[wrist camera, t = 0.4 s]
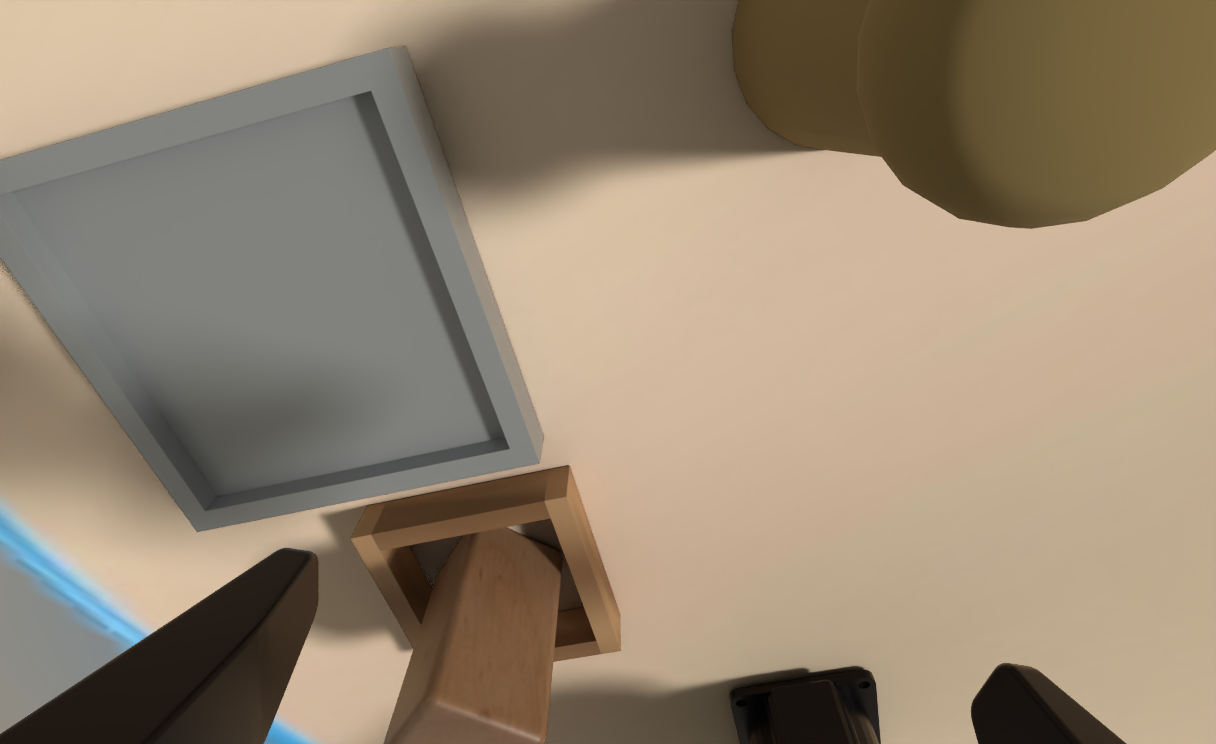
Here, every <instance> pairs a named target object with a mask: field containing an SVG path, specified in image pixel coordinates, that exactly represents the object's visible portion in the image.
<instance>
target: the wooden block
mask: <svg viewBox="0 0 1216 744" xmlns="http://www.w3.org/2000/svg"><path fill="white" fill-rule="evenodd" d="M562 561H563V558H562V555H561V554H560V553H559V552H558V551H557V550H555V549H553V548H550V547H548V546H546V545H544V544H541V543H539V542H537V541H535V540H532V539H530V538H528V537H526V536H524V535H521V534H519V533H517V532H515V531H512V530H510V529H508V528H506V527H503V528H498V529H493V530H487V531H482V532H477V533H472V534H466V535H463V537H462V538H461V540H460V541H459V543H458V544H457V546H456V547H455V549H454V550H453V552H452V553H451V555H450V556H449V558H448V559H447V561H446V562H445V564H444V566H443V567H442V569H441V570H440V572H439V573H438V575H437V577H436V580H435V583H434V586H433V589H432V592H431V596H430V599H429V602H428V605H427V608H426V611H425V615H424V618H423V621H422V624H421V627H420V630H419V634H418V637H417V640H416V643H415V646H414V649H413V652H412V656H411V659H410V662H409V665H408V668H407V671H406V675H405V678H404V681H403V684H402V687H401V690H400V694H399V697H398V700H397V703H396V706H395V709H394V713H393V716H392V719H391V722H390V725H389V728H388V731H387V735H386V738H385V741H384V744H543V743H544V742H545V740H546V734H547V724H548V713H549V702H550V691H551V681H552V670H553V659H554V648H555V637H556V626H557V615H558V604H559V593H560V582H561V571H562Z"/></svg>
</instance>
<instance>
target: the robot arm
mask: <svg viewBox="0 0 1216 744" xmlns="http://www.w3.org/2000/svg"><path fill="white" fill-rule="evenodd" d="M317 606H318V558H317V555H316V554H315V553H313V552H310V551H304V550H297V549H291V548H283V549H280V550H277V551H276V552H274V553H273V554H271V555H270V556H268V557H267V558H265V559H264V560H262V561H261V562H259V563H258V564H256V565H255V566H253V567H252V568H250V569H249V570H247V571H246V572H244V573H243V574H241V575H239V576H238V577H236V578H235V579H233V580H232V581H230V582H229V583H227V584H226V585H224V586H223V587H221V588H220V589H218V590H217V591H215V592H214V593H212V594H211V595H209V596H208V597H206V598H205V599H203V600H202V601H200V602H199V603H197V604H196V605H194V606H193V607H191V608H190V609H188V610H187V611H185V612H184V613H182V614H181V615H179V616H178V617H176V618H175V619H173V620H172V621H170V622H169V623H167V624H166V625H164V626H163V627H161V628H160V629H158V630H157V631H155V632H154V633H152V634H150V635H149V636H147V637H146V638H144V639H143V640H141V641H140V642H138V643H137V644H135V645H134V646H132V647H131V648H129V649H128V650H126V651H125V652H123V653H122V654H120V655H119V656H117V657H116V658H114V659H113V660H111V661H110V662H108V663H107V664H105V665H104V666H102V667H101V668H99V669H98V670H96V671H95V672H93V673H92V674H90V675H89V676H87V677H86V678H84V679H83V680H81V681H80V682H78V683H77V684H75V685H74V686H72V687H71V688H69V689H68V690H66V691H65V692H63V693H61V694H60V695H58V696H57V697H55V698H54V699H52V700H51V701H49V702H48V703H46V704H45V705H43V706H42V707H40V708H39V709H37V710H36V711H34V712H33V713H31V714H30V715H28V716H27V717H25V718H24V719H22V720H21V721H19V722H18V723H16V724H15V725H13V726H12V727H10V728H9V729H7V730H6V731H4V732H3V733H1V734H0V744H264V742H265V739H266V737H267V735H268V732H269V730H270V728H271V725H272V723H273V720H274V718H275V715H276V713H277V710H278V708H279V705H280V703H281V700H282V698H283V695H284V693H285V690H286V688H287V685H288V683H289V680H290V678H291V675H292V673H293V670H294V668H295V665H296V663H297V660H298V658H299V655H300V653H301V650H302V648H303V645H304V643H305V640H306V638H307V635H308V633H309V630H310V628H311V625H312V623H313V620H314V617H315V614H316V610H317ZM729 698H730V704H731V708H732V712H733V716H734V720H735V724H736V728H737V732H738V736H739V740H740V744H881V741H880V729H879V716H878V704H877V692H876V683H875V680H874V678H873V675H872V673H871V672H870V671H868V670H857V671H850V672H844V673H837V674H831V675H824V676H817V677H811V678H804V679H798V680H791V681H784V682H778V683H771V684H765V685H758V686H751V687H745V688H738V689H735V690H733V691H731V693H730V694H729ZM971 718H972V722H973V726H974V730H975V733H976V737H977V741H978V744H1126V743H1125V742H1124V741H1123V740H1121V739H1120V738H1119V737H1118V736H1117V735H1115V734H1114V733H1113V732H1112V731H1111V730H1109V729H1108V728H1107V727H1106V726H1105V725H1103V724H1102V723H1101V722H1100V721H1099V720H1097V719H1096V718H1095V717H1094V716H1093V715H1091V714H1090V713H1089V712H1088V711H1087V710H1085V709H1084V708H1083V707H1082V706H1081V705H1079V704H1078V703H1077V702H1076V701H1075V700H1073V699H1072V698H1071V697H1070V696H1069V695H1067V694H1066V693H1065V692H1064V691H1063V690H1061V689H1060V688H1059V687H1058V686H1057V685H1055V684H1054V683H1053V682H1052V681H1051V680H1049V679H1048V678H1047V677H1046V676H1045V675H1043V674H1042V673H1041V672H1040V671H1038V670H1037V669H1035V668H1032V667H1029V666H1023V665H1017V664H1011V663H1002V664H1000V665H998V666H997V667H996V668H995V669H994V671H993V672H992V674H991V675H990V676H989V678H988V679H987V681H986V682H985V684H984V685H983V686H982V688H981V689H980V691H979V692H978V693H977V695H976V696H975V698H974V700H973V702H972V706H971Z"/></svg>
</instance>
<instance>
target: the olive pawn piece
mask: <svg viewBox="0 0 1216 744" xmlns="http://www.w3.org/2000/svg"><path fill="white" fill-rule="evenodd" d="M732 41H733V59H734V71H735V73H736V76H737V79H738V81H739V84H740V87H741V90H742V92H743V95H744V98H745V100H746V103H747V104H748V105H749V107H750V108H751V109H752V110H753V111H754V113H755V114H756V115H757V116H758V118H759V119H760V120H761V121H762V122H763V124H764V125H765V126H766V127H767V128H768V129H769V130H771V131H773V132H774V133H776V134H778V135H780V136H781V137H783V138H785V139H786V140H788V141H790V142H792V143H793V144H795V145H801V146H806V147H812V148H818V149H823V150H830V151H838V152H846V153H855V154H863V155H871V156H880V157H882V158H883V159H884V161H885V162H886V163H887V165H888V166H889V167H890V169H891V170H892V171H893V173H894V174H895V175H896V176H897V178H898V179H899V180H900V182H901V183H902V184H903V185H904V186H905V187H907V188H909V189H910V190H912V191H914V192H915V193H917V194H919V195H920V196H922V197H924V198H925V199H927V200H929V201H930V202H932V203H934V204H935V205H937V206H939V207H940V208H942V209H944V210H946V211H947V212H949V213H951V214H952V215H954V216H956V217H957V218H959V219H964V220H970V221H976V222H982V223H988V224H993V225H999V226H1005V227H1015V228H1030V229H1032V228H1039V227H1046V226H1053V225H1060V224H1067V223H1075V222H1082V221H1087V220H1089V219H1092V218H1094V217H1097V216H1099V215H1101V214H1104V213H1106V212H1108V211H1111V210H1113V209H1116V208H1118V207H1120V206H1123V205H1125V204H1128V203H1130V202H1132V201H1135V200H1137V199H1139V198H1142V197H1144V196H1146V195H1149V194H1151V193H1153V192H1155V191H1158V190H1160V189H1162V188H1164V187H1165V186H1166V185H1168V184H1169V183H1171V182H1172V181H1173V180H1175V179H1176V178H1178V177H1179V176H1180V175H1182V174H1183V173H1185V172H1186V171H1187V170H1189V169H1190V168H1192V167H1193V166H1194V165H1196V164H1197V163H1199V162H1200V161H1202V160H1203V159H1204V158H1206V157H1207V156H1209V155H1210V154H1211V153H1213V152H1214V151H1215V150H1216V0H739V2H738V6H737V11H736V15H735V20H734V24H733V28H732Z"/></svg>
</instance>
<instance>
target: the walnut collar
mask: <svg viewBox="0 0 1216 744" xmlns="http://www.w3.org/2000/svg"><path fill="white" fill-rule="evenodd" d="M545 519H551V520H552V523H553V526H554V528H555V531H556V534H557V536H558V539H559V542H560V544H561V547H562V550H563V553H564V555H565V558H566V561H567V563H568V566H569V569H570V571H571V574H572V577H573V579H574V582H575V585H576V587H577V590H578V593H579V595H580V598H581V601H582V603H583V606H584V608H578V609H572V610H566V611H561V612H558V615H557V626H556V637H555V648H554V659H553V662H555V661H561V660H567V659H573V658H580V657H586V656H592V655H598V654H604V653H610V652H617V651H621V634H620V613H619V610H618V607H617V604H616V601H615V598H614V595H613V592H612V589H611V586H610V583H609V580H608V577H607V575H606V572H605V569H604V566H603V563H602V560H601V557H600V554H599V551H598V548H597V545H596V542H595V539H594V536H593V533H592V530H591V527H590V524H589V522H588V519H587V516H586V513H585V510H584V507H583V504H582V501H581V498H580V495H579V492H578V489H577V486H576V483H575V480H574V477H573V474H572V472H571V469H570V466H565V467H560V468H555V469H550V470H545V471H540V472H535V473H530V474H525V475H520V476H515V477H510V478H505V479H500V480H495V481H490V482H485V483H480V484H475V485H470V486H465V487H460V488H455V489H450V490H445V491H440V492H434V493H429V494H424V495H419V496H414V497H409V498H404V499H399V500H394V501H389V502H384V503H379V504H374V505H369V506H367V507H366V509H365V511H364V513H363V515H362V517H361V519H360V521H359V523H358V525H357V527H356V529H355V531H354V533H353V535H352V537H351V538H350V539H351V541H352V542H353V544H354V546H355V548H356V549H357V551H358V553H359V554H360V556H361V558H362V560H363V561H364V563H365V565H366V567H367V568H368V570H369V572H370V574H371V575H372V577H373V579H374V581H375V582H376V584H377V586H378V588H379V589H380V591H381V593H382V595H383V596H384V598H385V600H386V601H387V603H388V605H389V607H390V608H391V610H392V612H393V614H394V615H395V617H396V619H397V621H398V622H399V624H400V626H401V628H402V629H403V631H404V633H405V635H406V636H407V638H408V640H409V642H410V643H411V645H412V647H413V649H414V646H415V643H416V640H417V637H418V634H419V630H420V627H421V624H422V621H423V618H424V615H425V611H426V608H427V605H428V602H429V599H430V596H431V592H432V589H431V587H430V585H429V583H428V581H427V579H426V577H425V575H424V573H423V571H422V570H421V568H420V566H419V564H418V562H417V560H416V558H415V556H414V554H413V552H412V550H411V548H410V546H409V545H414V544H419V543H424V542H429V541H435V540H440V539H445V538H450V537H456V536H461V535H466V534H472V533H477V532H482V531H487V530H493V529H498V528H503V527H508V526H514V525H519V524H524V523H529V522H535V521H540V520H545Z"/></svg>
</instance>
